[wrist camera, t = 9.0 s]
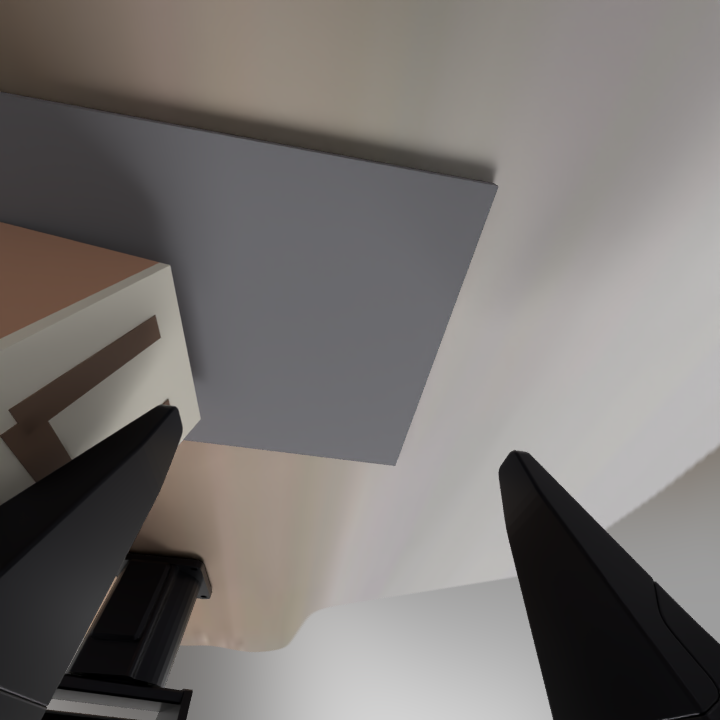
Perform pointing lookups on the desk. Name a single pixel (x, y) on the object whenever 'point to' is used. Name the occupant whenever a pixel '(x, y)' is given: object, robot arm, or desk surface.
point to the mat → (263, 265)
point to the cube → (81, 350)
